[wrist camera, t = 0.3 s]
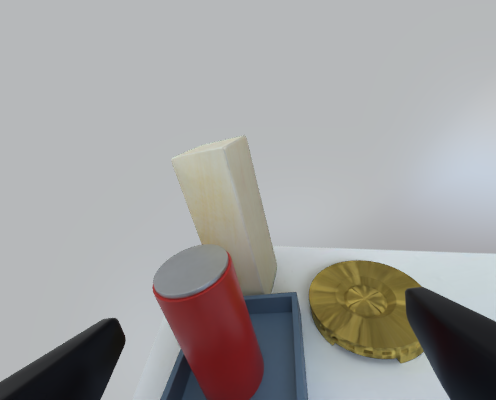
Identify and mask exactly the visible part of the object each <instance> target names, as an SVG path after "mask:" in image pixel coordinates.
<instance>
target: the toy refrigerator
mask: <svg viewBox="0 0 496 400" xmlns="http://www.w3.org/2000/svg"><path fill="white" fill-rule="evenodd" d="M171 161H172V164H173V167H174V170H175V173H176V175H177V178H178V181H179V183H180V186H181V189H182V192H183V194H184V197H185V200H186V203H187V205H188V208H189V210H190V213H191V216H192V219H193V222H194V224H195V227H196V230H197V232H198V235H199V238H200V240H201V243H202V245H204V244H214V245H218V246H221V247H222V248H224V249H225V250H226V251H227V252H228V253H229V254H230V256H231V259H232V262H233V265H234V268H235V271H236V274H237V278H238V281H239V284H240V287H241V290H242V293H243V296H251V295H264V294H271V291H272V287H273V283H274V278H275V275H276V270H277V263H276V259H275V255H274V251H273V247H272V243H271V238H270V234H269V230H268V226H267V222H266V218H265V213H264V209H263V205H262V201H261V197H260V193H259V188H258V185H257V180H256V176H255V172H254V168H253V163H252V159H251V155H250V150H249V146H248V142H247V138H246V136H239V137H234V138H230V139H226V140H222V141H217V142H212V143H208V144H204V145H201V146H199V147H196V148H194V149H191V150H189V151H187V152H185V153H182V154H180V155H178V156H175V157H173V158H172V160H171Z"/></svg>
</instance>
